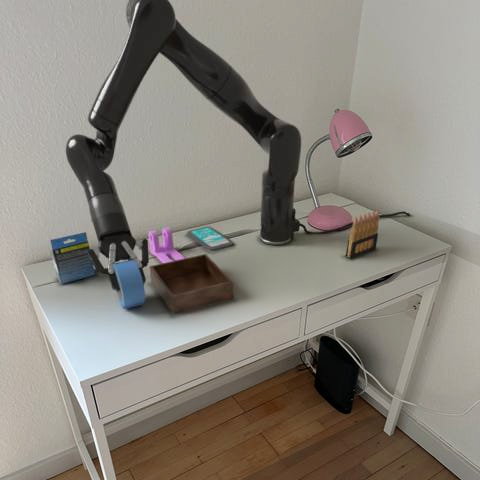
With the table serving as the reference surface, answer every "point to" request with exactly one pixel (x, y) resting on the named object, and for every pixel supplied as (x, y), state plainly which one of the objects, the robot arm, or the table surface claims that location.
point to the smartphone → (209, 238)
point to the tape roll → (129, 284)
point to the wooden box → (191, 283)
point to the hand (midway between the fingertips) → (130, 287)
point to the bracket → (163, 246)
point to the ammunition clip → (363, 235)
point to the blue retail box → (71, 258)
